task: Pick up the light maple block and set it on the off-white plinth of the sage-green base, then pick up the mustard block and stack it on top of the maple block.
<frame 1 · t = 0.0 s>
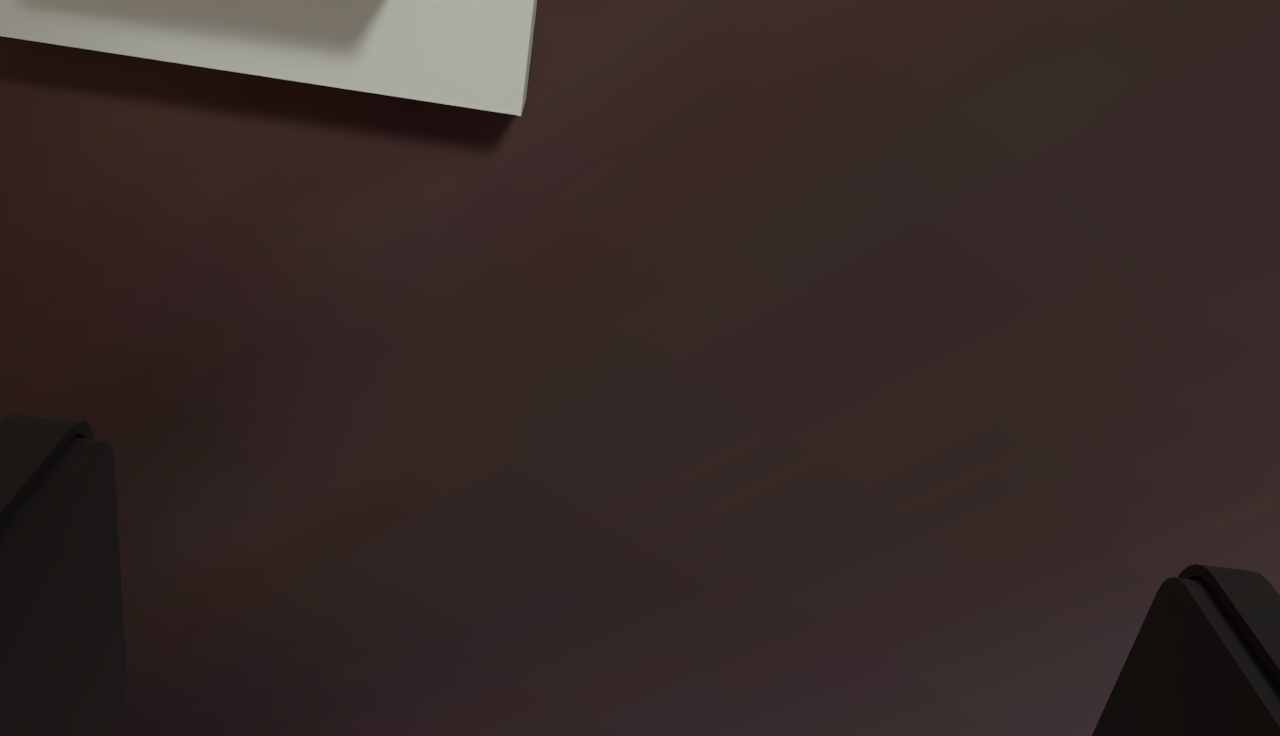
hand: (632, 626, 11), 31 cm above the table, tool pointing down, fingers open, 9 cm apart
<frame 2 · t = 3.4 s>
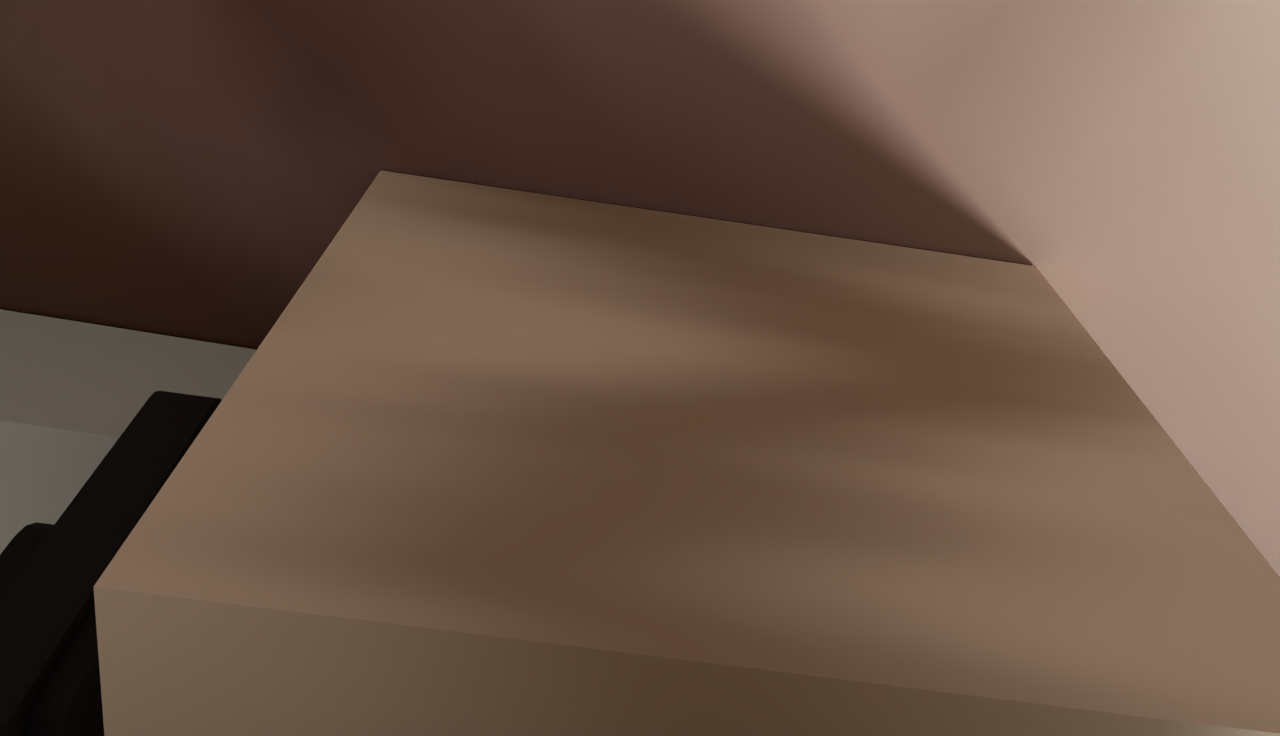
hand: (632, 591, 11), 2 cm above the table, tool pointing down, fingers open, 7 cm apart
maple block: (661, 496, 13), on the table, touching gripper
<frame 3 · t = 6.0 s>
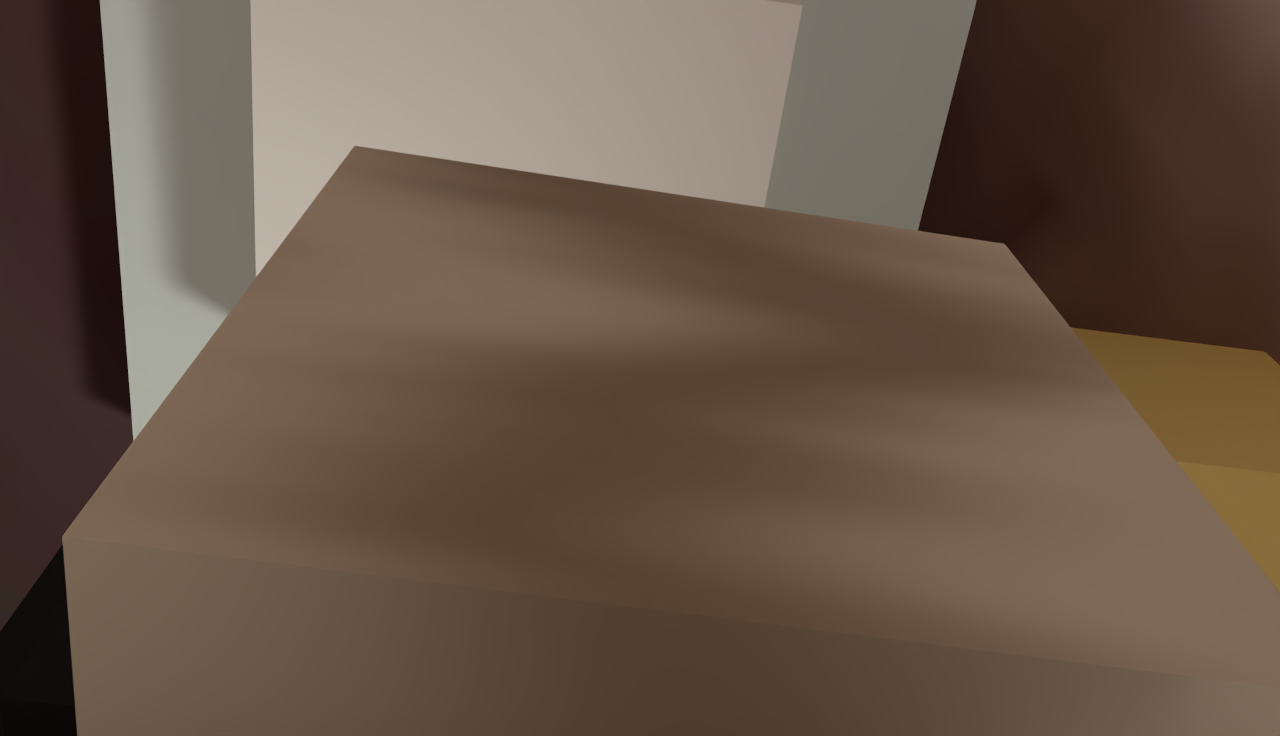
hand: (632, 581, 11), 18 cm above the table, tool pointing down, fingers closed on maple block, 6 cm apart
mustard block: (1102, 442, 32), on the table
maple block: (635, 473, 13), point 16 cm above the table, touching gripper
base: (529, 152, 28), on the table
when the fingers open (8 cm above the table, at t = 8.6 s): maple block stays where it is, resting on base.
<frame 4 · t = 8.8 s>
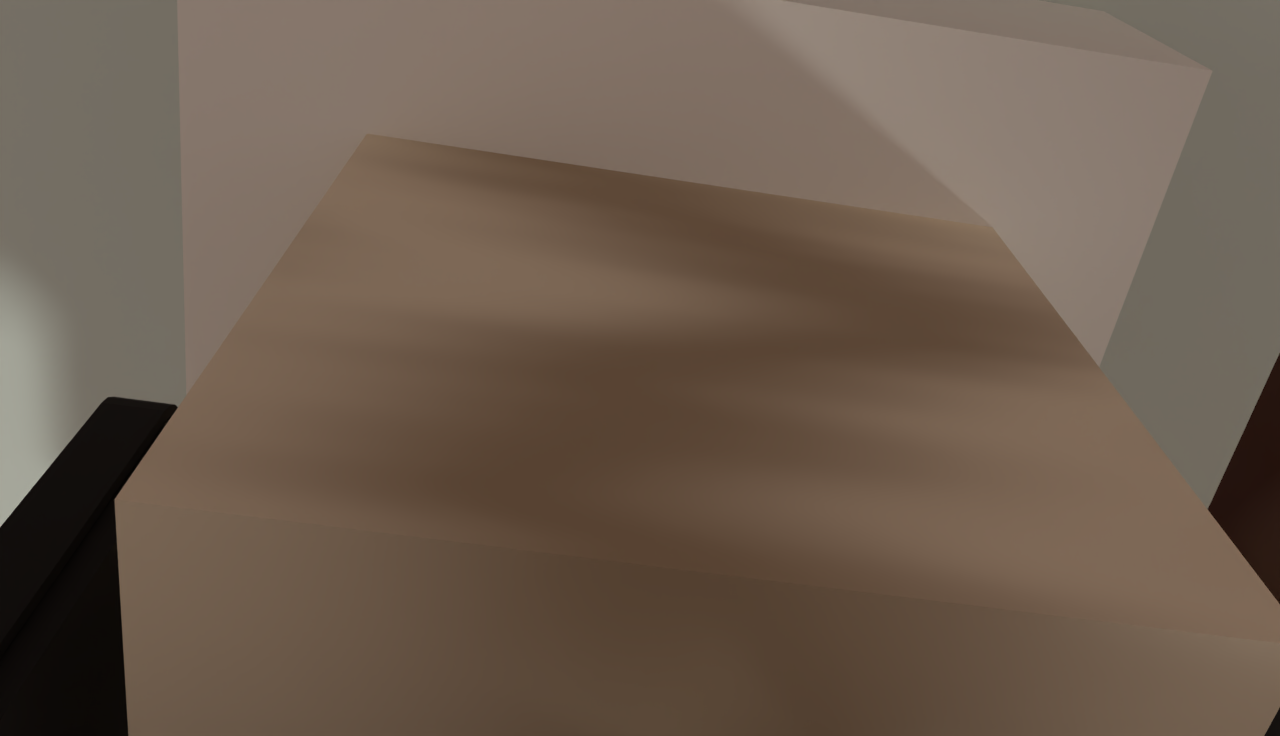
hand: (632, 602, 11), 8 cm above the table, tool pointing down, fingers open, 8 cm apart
maple block: (637, 449, 14), point 5 cm above the table, touching base
base: (631, 266, 18), on the table
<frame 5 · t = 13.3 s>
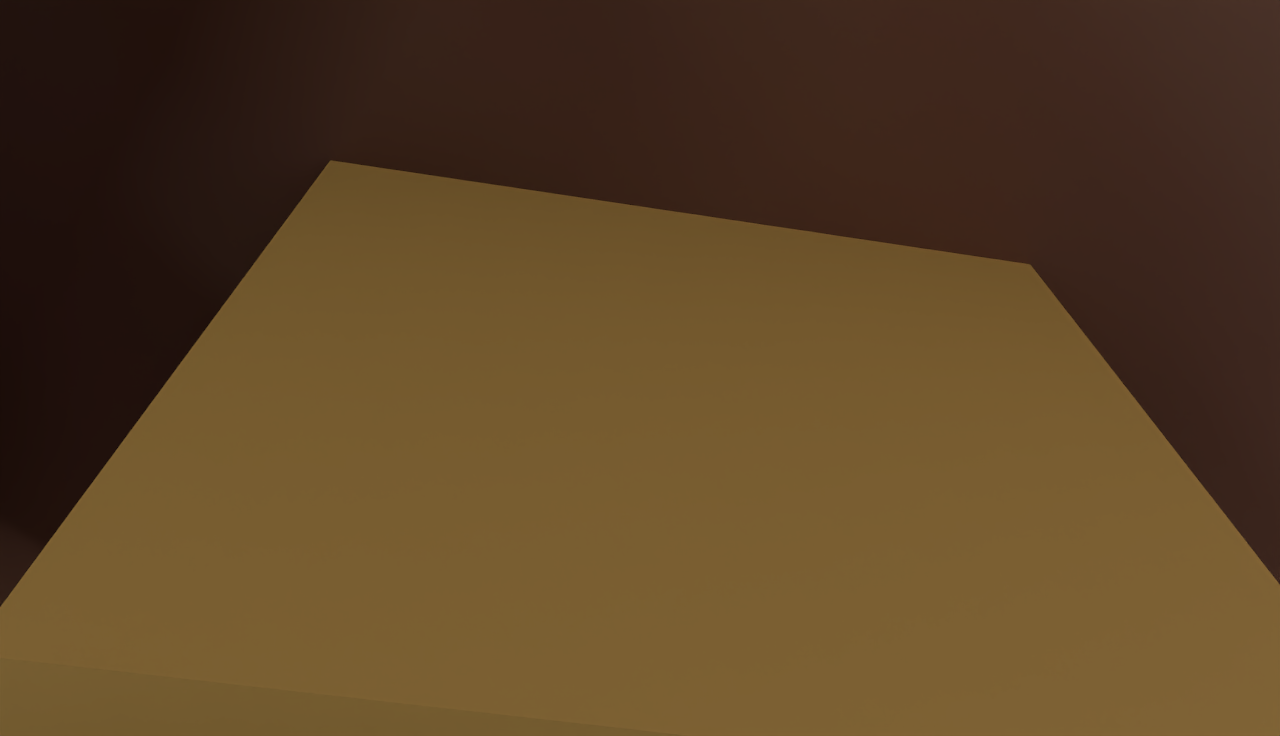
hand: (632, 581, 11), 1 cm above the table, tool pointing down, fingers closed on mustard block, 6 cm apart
mustard block: (633, 504, 12), on the table, touching gripper
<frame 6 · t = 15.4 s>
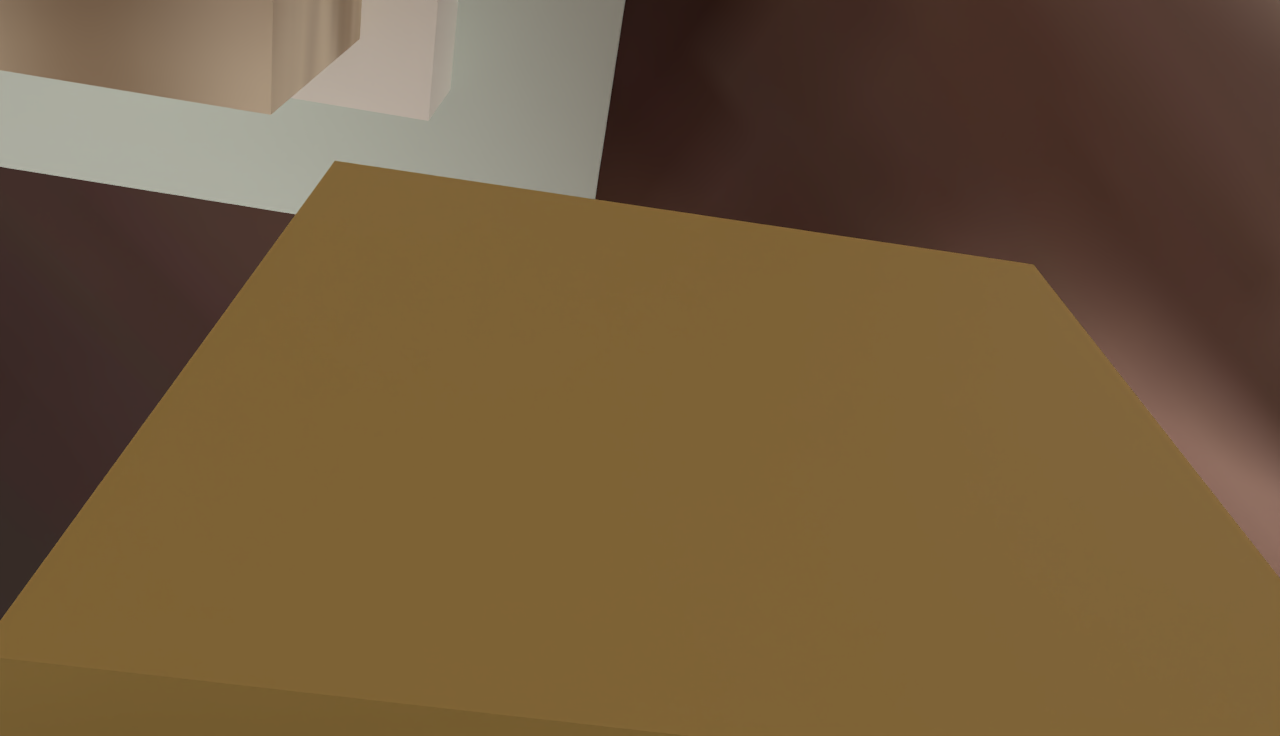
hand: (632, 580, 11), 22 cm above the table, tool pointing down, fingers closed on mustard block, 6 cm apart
mustard block: (637, 505, 12), point 21 cm above the table, touching gripper
when the fingers open (14 cm above the table, at t = 17.9 s): mustard block drops 1 cm, resting on maple block.
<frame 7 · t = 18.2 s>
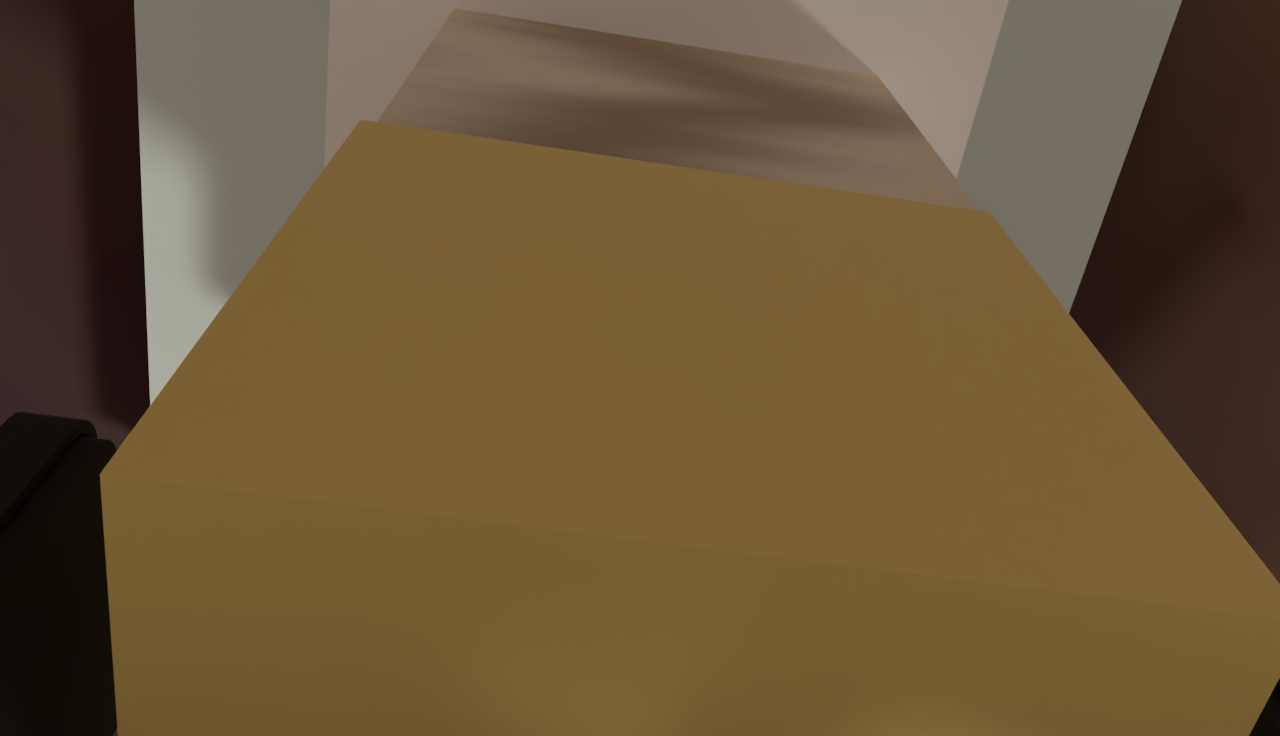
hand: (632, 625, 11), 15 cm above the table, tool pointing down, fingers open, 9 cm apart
mustard block: (633, 437, 13), point 11 cm above the table, touching maple block
maple block: (636, 240, 19), point 5 cm above the table, touching base, mustard block
base: (631, 141, 24), on the table
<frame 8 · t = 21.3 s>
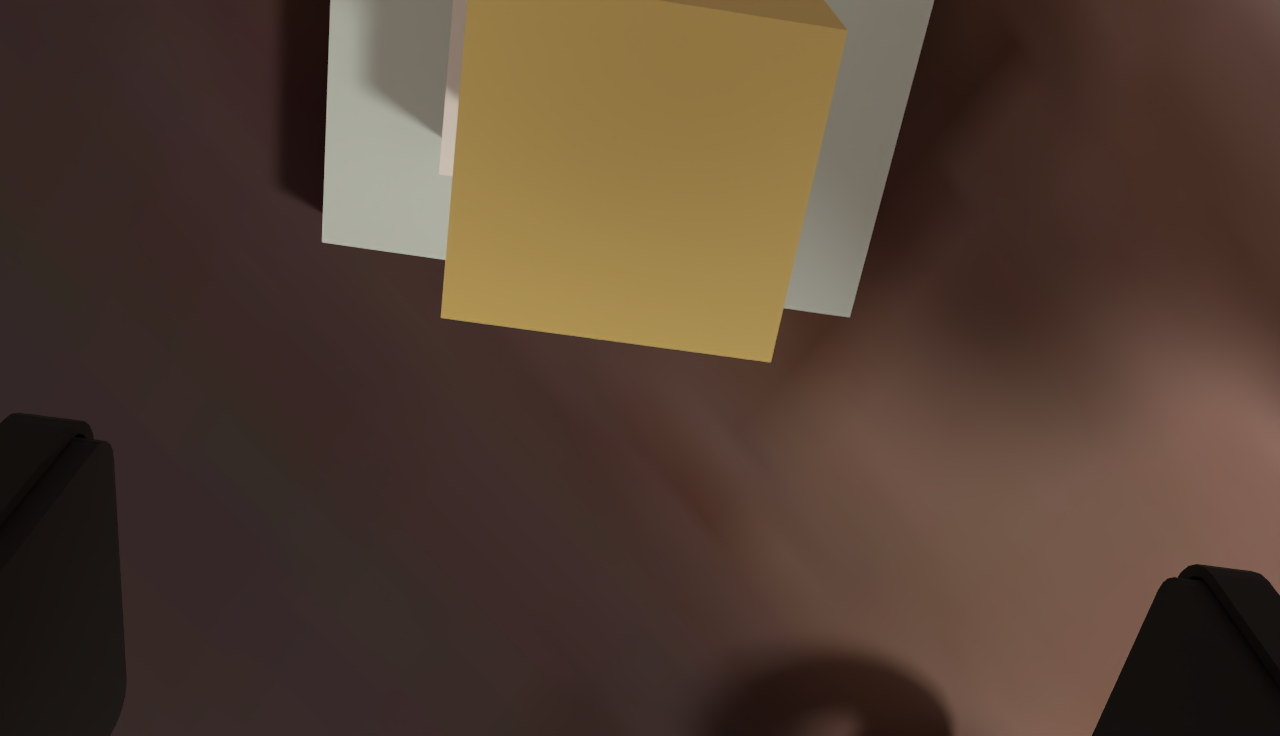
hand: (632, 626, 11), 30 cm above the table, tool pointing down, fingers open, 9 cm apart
mustard block: (632, 91, 27), point 11 cm above the table, touching maple block
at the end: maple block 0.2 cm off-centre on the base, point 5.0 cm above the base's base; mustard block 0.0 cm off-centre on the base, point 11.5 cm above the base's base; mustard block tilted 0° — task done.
